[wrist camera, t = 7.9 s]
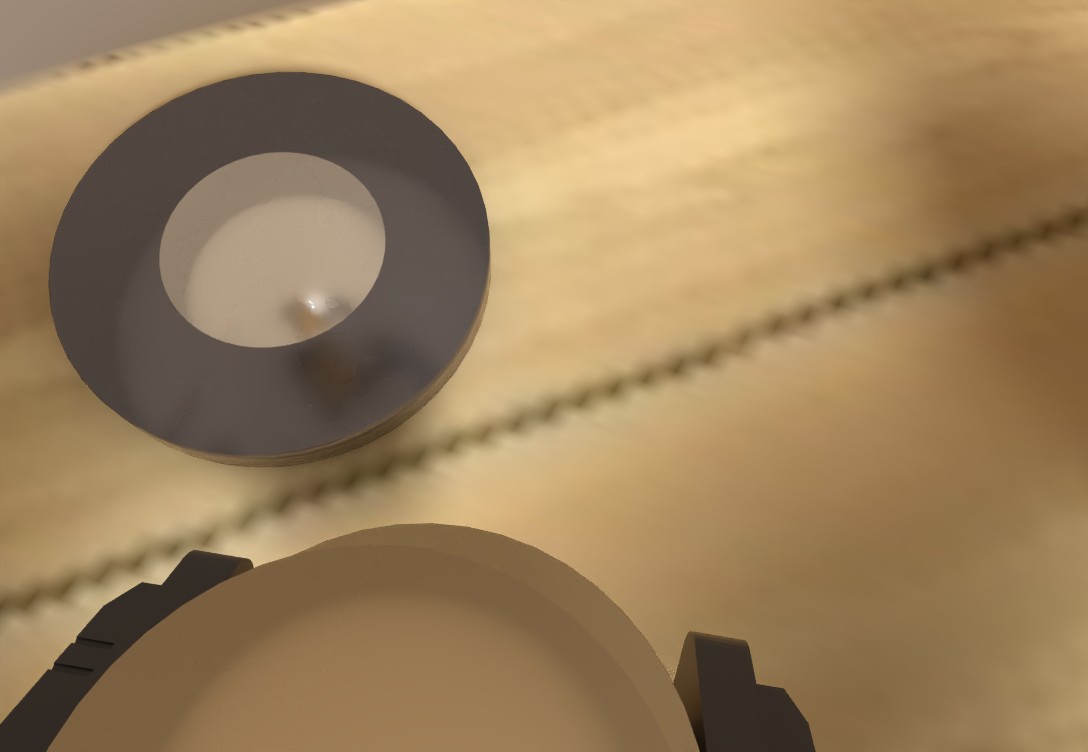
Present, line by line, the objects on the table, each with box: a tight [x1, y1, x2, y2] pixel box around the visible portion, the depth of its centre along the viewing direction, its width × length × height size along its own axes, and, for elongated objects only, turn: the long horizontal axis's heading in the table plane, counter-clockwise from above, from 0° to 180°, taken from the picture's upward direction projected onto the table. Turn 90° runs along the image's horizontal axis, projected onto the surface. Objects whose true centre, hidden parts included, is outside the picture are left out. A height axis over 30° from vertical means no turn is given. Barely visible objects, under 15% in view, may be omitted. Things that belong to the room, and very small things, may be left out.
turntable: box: [49, 72, 491, 467], centre depth 27 cm, size 14×14×2 cm
